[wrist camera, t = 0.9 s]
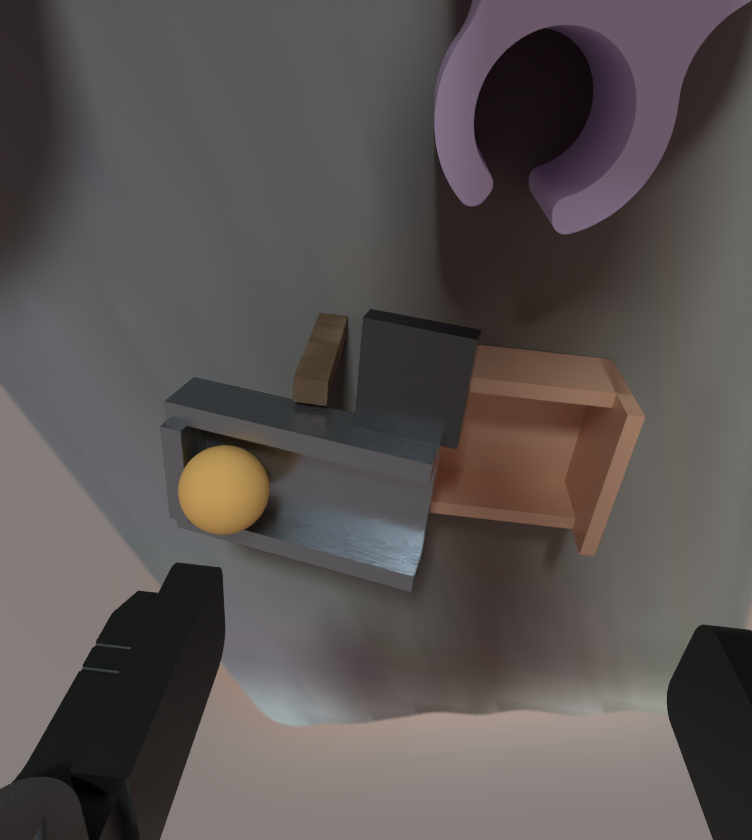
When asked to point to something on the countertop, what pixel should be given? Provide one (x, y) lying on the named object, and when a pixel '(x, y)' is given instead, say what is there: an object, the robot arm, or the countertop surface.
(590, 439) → the cup
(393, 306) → the countertop surface
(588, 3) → the clip
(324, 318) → the stand
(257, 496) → the ball
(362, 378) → the tipping track
